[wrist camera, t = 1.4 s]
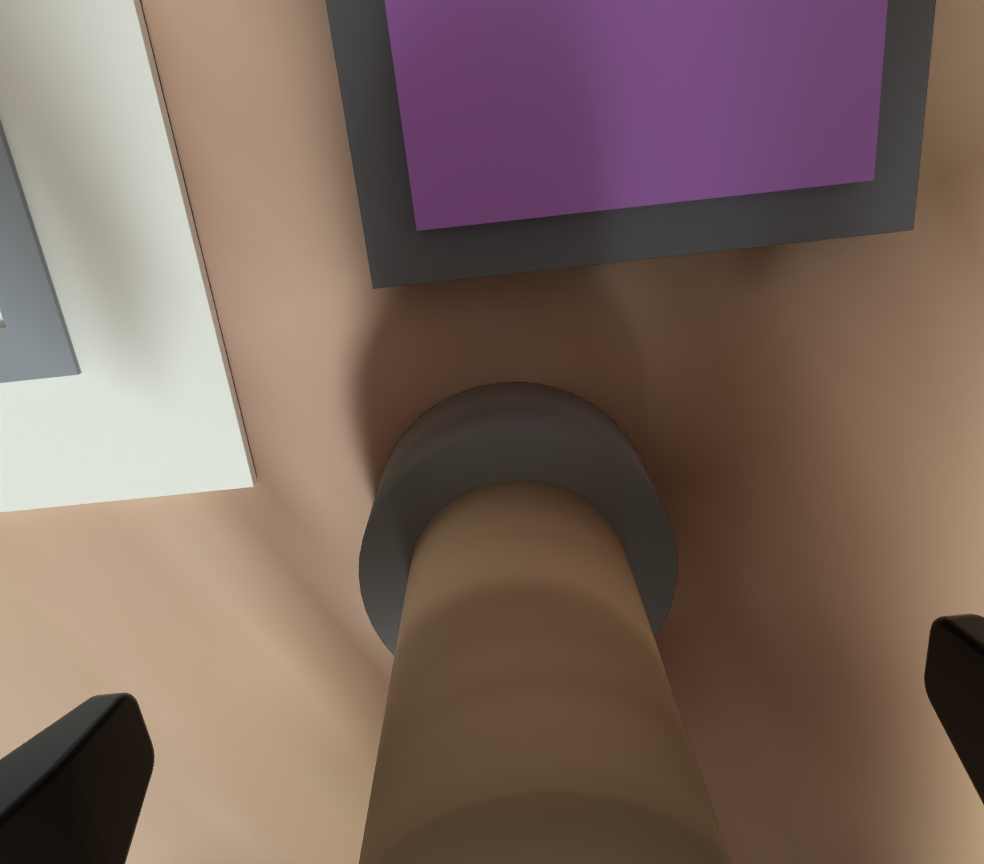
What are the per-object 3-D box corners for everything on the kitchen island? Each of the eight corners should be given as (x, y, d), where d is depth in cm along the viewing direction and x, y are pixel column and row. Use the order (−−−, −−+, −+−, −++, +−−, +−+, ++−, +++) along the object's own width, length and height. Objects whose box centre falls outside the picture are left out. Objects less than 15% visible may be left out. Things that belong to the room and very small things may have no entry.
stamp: (652, 610, 13) (821, 1090, 6) (399, 634, 13) (316, 1128, 7) (643, 367, 11) (860, 679, 5) (356, 397, 11) (187, 742, 5)
